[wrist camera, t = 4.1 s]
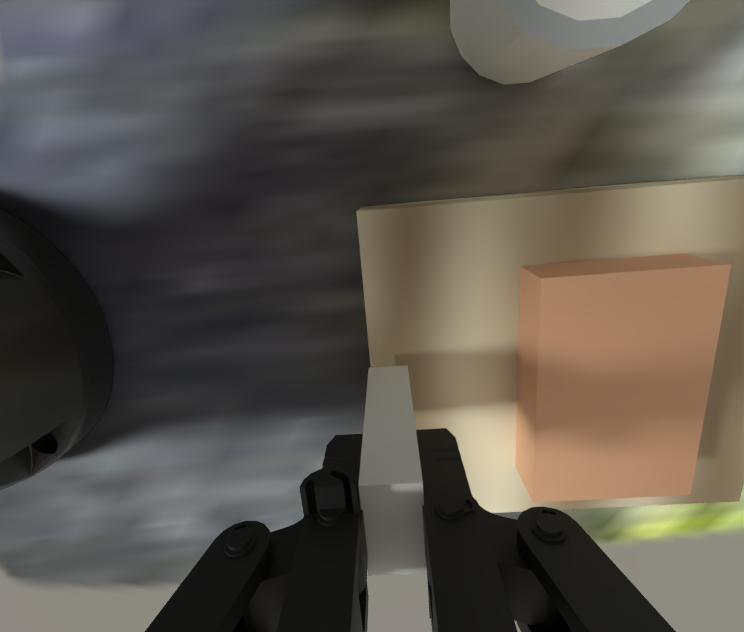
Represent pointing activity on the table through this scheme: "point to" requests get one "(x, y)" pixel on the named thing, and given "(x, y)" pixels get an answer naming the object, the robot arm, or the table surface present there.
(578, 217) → the board
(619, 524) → the table surface
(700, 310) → the terracotta block
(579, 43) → the shot glass
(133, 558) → the table surface
